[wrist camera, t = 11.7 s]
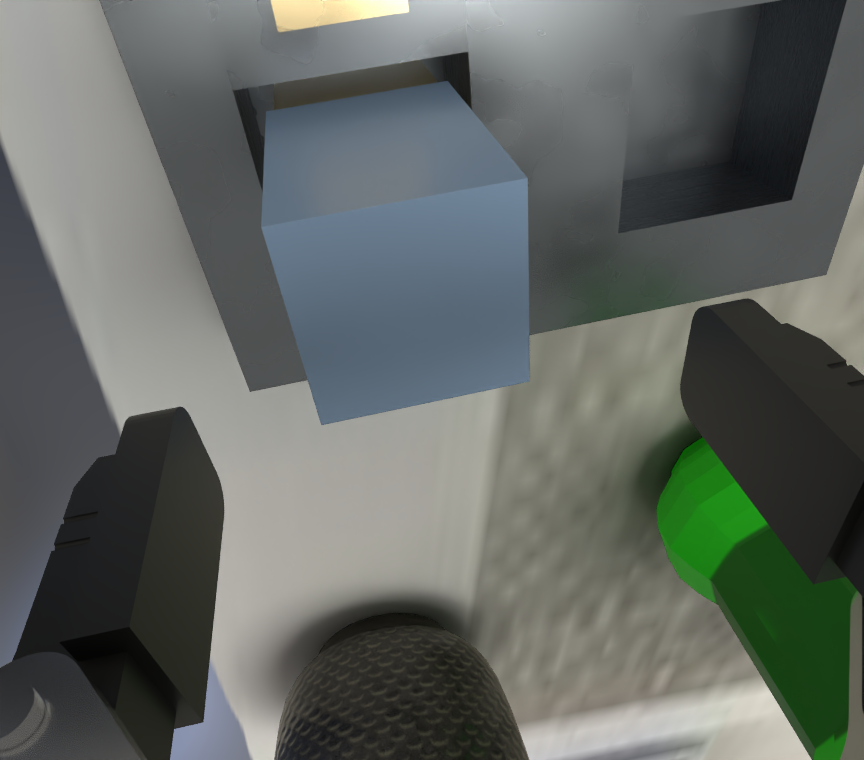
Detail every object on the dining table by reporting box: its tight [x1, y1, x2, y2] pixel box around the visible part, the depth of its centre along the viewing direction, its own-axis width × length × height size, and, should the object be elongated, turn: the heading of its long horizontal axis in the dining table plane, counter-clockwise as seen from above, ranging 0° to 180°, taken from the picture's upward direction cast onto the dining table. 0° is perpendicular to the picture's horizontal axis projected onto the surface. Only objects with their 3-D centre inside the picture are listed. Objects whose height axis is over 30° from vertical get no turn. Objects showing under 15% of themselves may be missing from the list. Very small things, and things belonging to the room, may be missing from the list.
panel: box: [99, 0, 864, 392], centre depth 19 cm, size 20×12×4 cm, turn 96°
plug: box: [261, 60, 530, 425], centre depth 16 cm, size 4×4×10 cm
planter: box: [274, 614, 529, 760], centre depth 35 cm, size 14×14×13 cm
